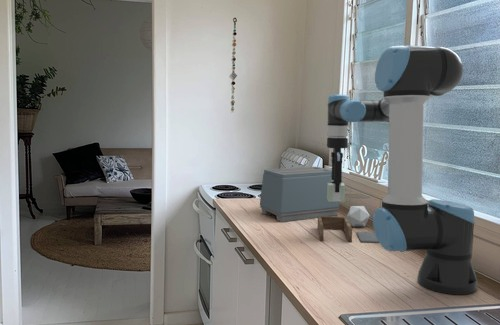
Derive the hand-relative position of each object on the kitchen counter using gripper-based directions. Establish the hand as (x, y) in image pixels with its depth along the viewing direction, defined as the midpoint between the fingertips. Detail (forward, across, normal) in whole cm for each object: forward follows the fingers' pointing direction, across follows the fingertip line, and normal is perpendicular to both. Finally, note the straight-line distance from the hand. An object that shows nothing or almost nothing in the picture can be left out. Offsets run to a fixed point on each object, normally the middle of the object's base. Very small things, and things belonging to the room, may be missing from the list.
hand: (335, 199), depth 174 cm
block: (0, 0, 0) cm, 0 cm away
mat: (+15, 0, -15) cm, 21 cm away
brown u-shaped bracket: (+15, +3, 0) cm, 15 cm away
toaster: (+15, +36, +11) cm, 40 cm away
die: (+15, +18, -11) cm, 26 cm away
